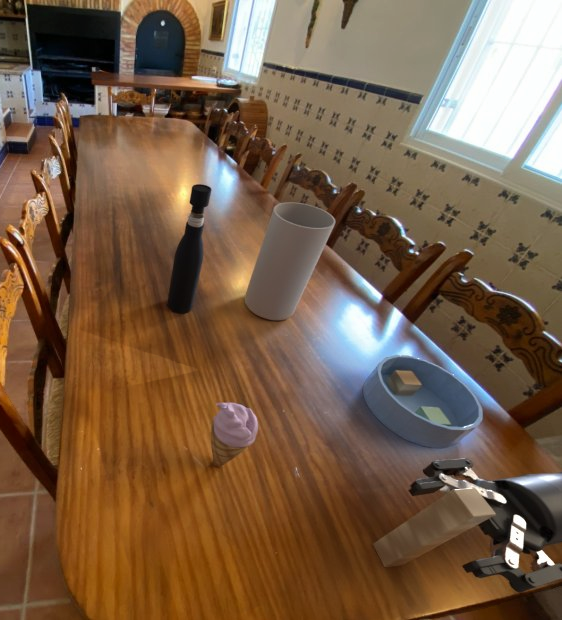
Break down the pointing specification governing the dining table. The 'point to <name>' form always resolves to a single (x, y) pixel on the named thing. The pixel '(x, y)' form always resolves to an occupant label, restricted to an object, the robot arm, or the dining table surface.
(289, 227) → the cylinder vase
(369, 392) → the bowl
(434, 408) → the sage block
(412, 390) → the maple block
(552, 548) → the dining table surface
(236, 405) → the ice cream cone
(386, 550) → the brown wooden bar
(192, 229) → the black bottle
